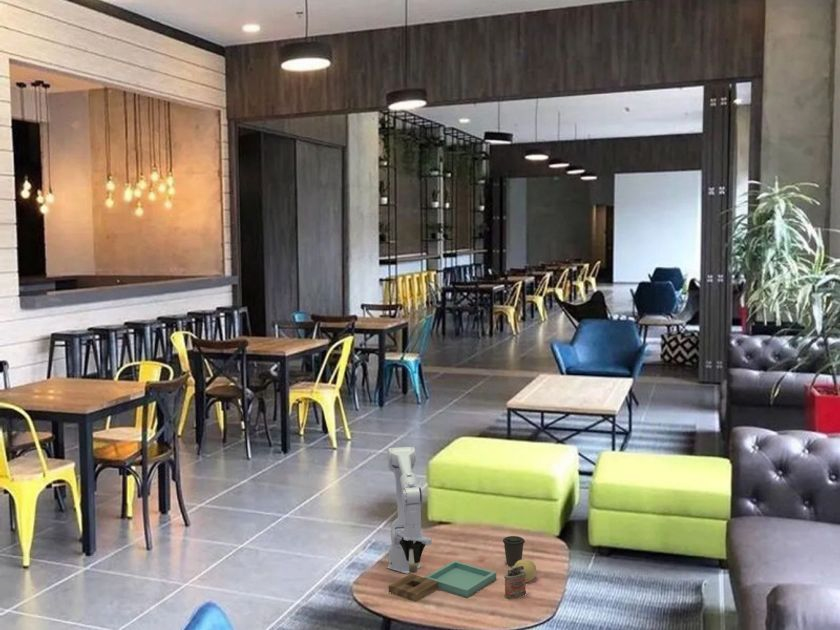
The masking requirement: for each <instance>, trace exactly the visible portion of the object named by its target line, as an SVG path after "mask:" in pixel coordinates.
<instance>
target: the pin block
mask: <svg viewBox="0 0 840 630" xmlns="http://www.w3.org/2000/svg"><path fill="white" fill-rule="evenodd" d="M424 577H425V576H420V575H418V574H414V573H408V574H406V575H405V576H403V577H401V578H400V579H398V580H396V581H394V582H392V583H390V584H389V585H388V593H389V592H391V593H390V594H392V593H393V594H392V595H395V594H396V596H399V597H402V598H404V599H408V600H411V601H414V602H418V601H420V600H421V599H423V598H425V597H427V596H429V595H430V594H432V593H434V592H435V591H437V590H439V589H438V582H437V581H434V580H430V579H427V578H424Z"/></svg>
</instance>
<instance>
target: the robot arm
mask: <svg viewBox="0 0 840 630" xmlns="http://www.w3.org/2000/svg"><path fill="white" fill-rule="evenodd" d="M416 457H417V455H416V448H415V447H414V446H404V447H403V446H401V447H389V448H388V449H387V466H388V467H387V468H388V471H390V472H393V474H394V478H395V491H396V492H395V493H396V507H397V518H395V520H393V521H392V522H391V525H390V541H391V544H390V545H389V546H388V547H389V548H388V566H387V569H389V570H393V571H396V572H399V573H403V574H406V575H409V574H411V572H409V547H412V548H413V552H414V562H415V563H418V569H419V568H421V565H420V564H419V563H420V562H421V558H422V554H423V551H424V549H425V547H426V546H427V547H429V546H430V545H432V538H430V537H429V536H427V535H424V534H423V533H422V520H421V519H422V515H421V514H422V513H421V510H422V509H421V507H422V506H421V505H422V504H423V491H422V487H421V486H420V484H418V480H417V475H416V474H415V473H413V472H412V470H413V469H414V467H415V463H416V461H417V459H416Z"/></svg>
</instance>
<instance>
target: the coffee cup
mask: <svg viewBox="0 0 840 630" xmlns="http://www.w3.org/2000/svg"><path fill="white" fill-rule="evenodd" d="M525 542H526V541H525V539H524V538H523V537H522V536H517V535H516V536H515V535H509V536H506V537H504V538H503V539H502V543H503V545H504V555H505V561H506V562H505V563H506V566H507V565H508V567H509V566H511V567H512V566H514V565H515V563H516V562H517V561H519V560H522V559H523V551H524V544H525ZM511 567H510V568H511Z"/></svg>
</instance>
